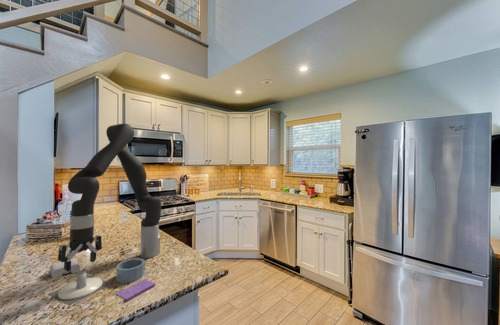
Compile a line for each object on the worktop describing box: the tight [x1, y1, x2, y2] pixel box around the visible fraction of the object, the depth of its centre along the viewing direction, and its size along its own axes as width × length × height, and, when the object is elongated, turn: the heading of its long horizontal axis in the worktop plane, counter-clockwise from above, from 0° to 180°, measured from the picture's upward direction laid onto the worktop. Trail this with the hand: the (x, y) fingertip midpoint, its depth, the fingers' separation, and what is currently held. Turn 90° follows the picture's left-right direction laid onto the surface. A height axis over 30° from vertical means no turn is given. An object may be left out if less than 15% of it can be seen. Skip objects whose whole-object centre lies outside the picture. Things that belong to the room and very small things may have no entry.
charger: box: [49, 258, 81, 280], centre depth 100 cm, size 5×9×15 cm
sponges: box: [115, 278, 156, 303], centre depth 85 cm, size 7×13×2 cm, turn 150°
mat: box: [47, 275, 112, 306], centre depth 85 cm, size 15×15×1 cm
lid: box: [58, 272, 104, 300], centre depth 85 cm, size 14×14×6 cm
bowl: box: [115, 257, 146, 284], centre depth 95 cm, size 11×11×6 cm
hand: (80, 266), depth 85 cm, fingers open, 8 cm apart
